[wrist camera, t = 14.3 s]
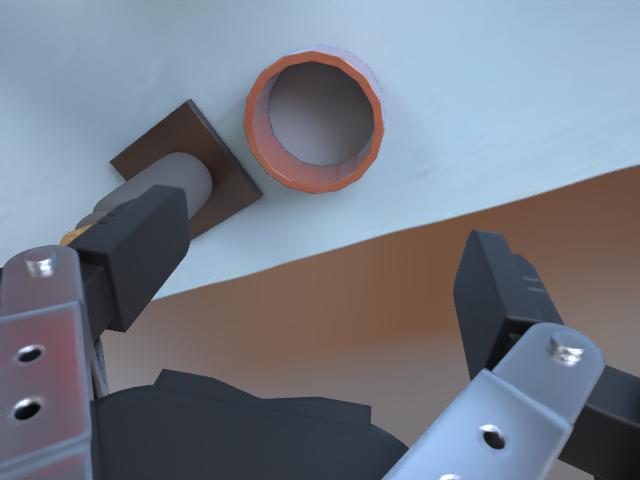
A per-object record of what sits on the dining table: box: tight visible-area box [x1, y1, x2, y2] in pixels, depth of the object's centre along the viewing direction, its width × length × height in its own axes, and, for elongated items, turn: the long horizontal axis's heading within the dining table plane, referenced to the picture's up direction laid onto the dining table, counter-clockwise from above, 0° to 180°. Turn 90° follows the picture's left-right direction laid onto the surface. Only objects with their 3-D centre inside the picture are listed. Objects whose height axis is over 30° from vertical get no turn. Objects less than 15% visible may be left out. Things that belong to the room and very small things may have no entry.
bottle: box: [60, 152, 212, 246], centre depth 35 cm, size 6×6×15 cm
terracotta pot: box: [244, 45, 385, 194], centre depth 35 cm, size 11×11×5 cm
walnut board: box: [110, 99, 262, 240], centre depth 42 cm, size 11×11×1 cm
